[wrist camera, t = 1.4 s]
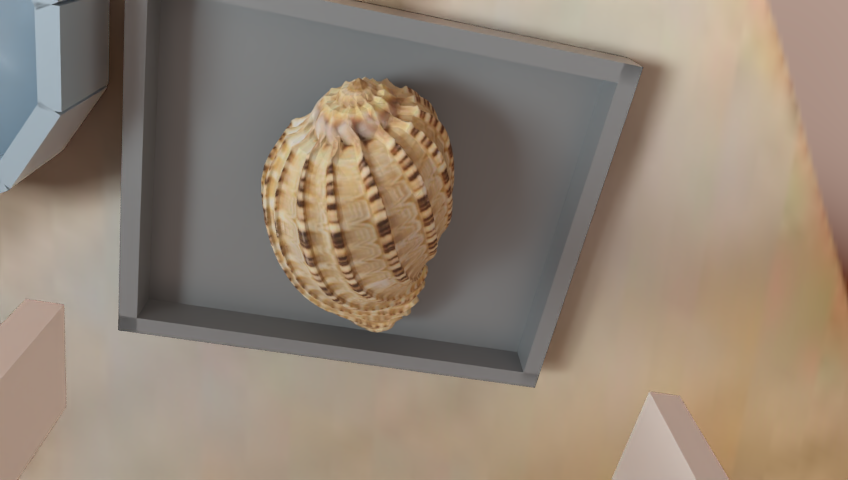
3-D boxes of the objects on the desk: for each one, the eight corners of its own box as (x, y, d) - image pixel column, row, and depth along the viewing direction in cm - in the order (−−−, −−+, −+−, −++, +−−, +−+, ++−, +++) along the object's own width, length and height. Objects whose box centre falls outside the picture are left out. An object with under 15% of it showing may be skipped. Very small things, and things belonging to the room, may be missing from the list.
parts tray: (133, 306, 29) (118, 330, 27) (143, -45, 23) (125, -41, 21) (526, 363, 31) (534, 387, 29) (626, 57, 25) (643, 67, 24)
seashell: (471, 208, 30) (412, 21, 23) (506, 319, 27) (448, 140, 19) (309, 259, 31) (197, 94, 23) (320, 374, 27) (191, 223, 20)
